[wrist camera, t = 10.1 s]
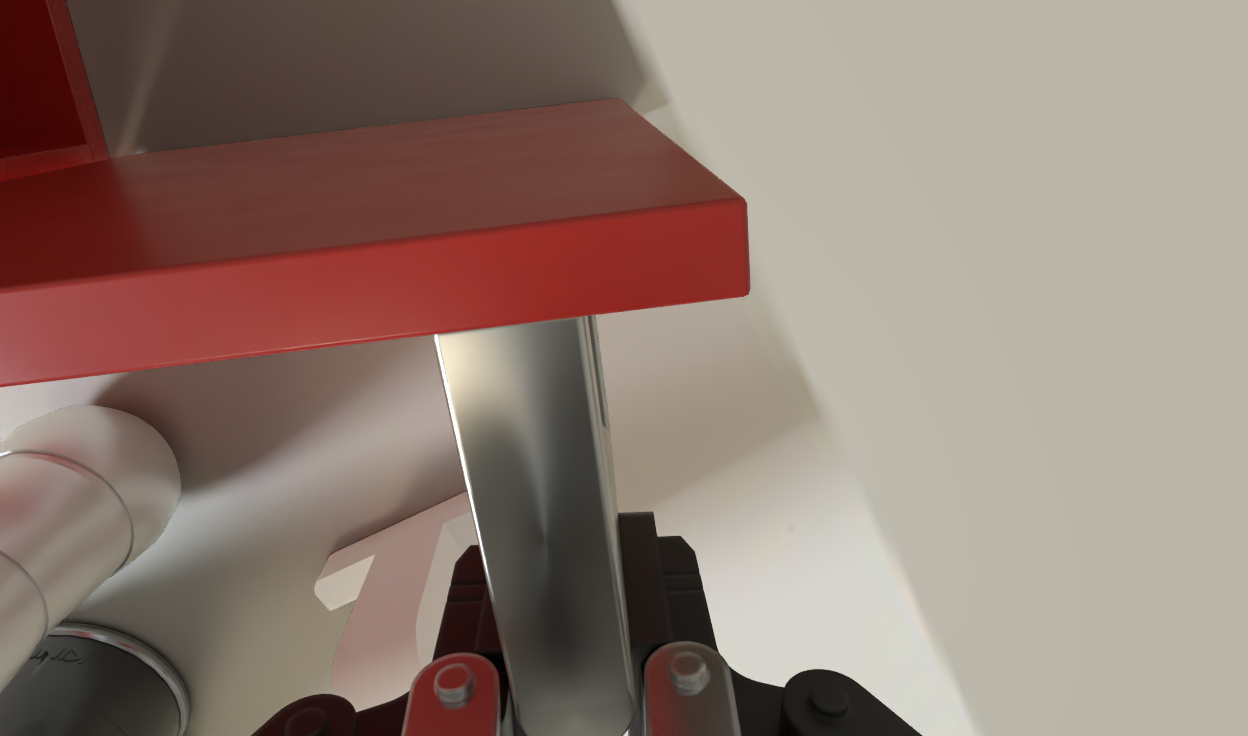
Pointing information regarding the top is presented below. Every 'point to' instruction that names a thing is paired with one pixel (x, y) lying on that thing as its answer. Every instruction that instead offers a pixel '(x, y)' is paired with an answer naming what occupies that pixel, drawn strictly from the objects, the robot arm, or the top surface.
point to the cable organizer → (394, 600)
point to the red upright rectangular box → (43, 92)
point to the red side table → (410, 317)
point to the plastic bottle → (74, 515)
